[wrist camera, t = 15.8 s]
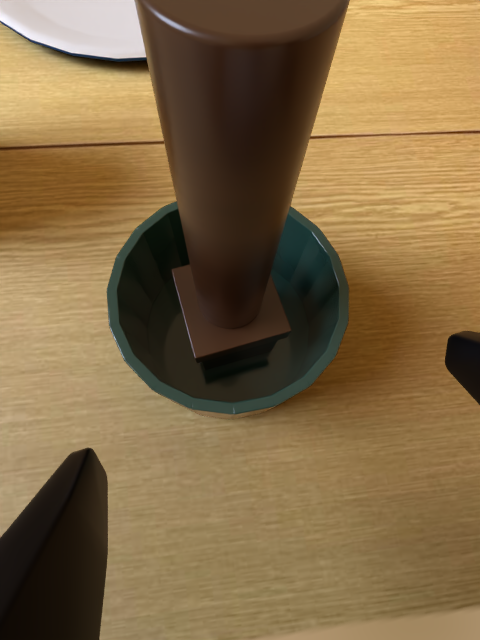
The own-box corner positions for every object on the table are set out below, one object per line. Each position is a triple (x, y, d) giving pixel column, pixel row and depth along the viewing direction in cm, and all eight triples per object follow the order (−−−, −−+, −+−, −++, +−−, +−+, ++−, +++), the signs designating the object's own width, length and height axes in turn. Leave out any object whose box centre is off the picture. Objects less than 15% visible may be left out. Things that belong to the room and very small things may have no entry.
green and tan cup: (332, 399, 17) (381, 385, 11) (152, 435, 16) (116, 438, 10) (290, 245, 19) (313, 178, 14) (135, 268, 18) (100, 205, 13)
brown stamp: (276, 353, 17) (480, 54, 3) (201, 375, 16) (93, 122, 3) (253, 285, 18) (335, -133, 5) (182, 304, 17) (43, -108, 4)
